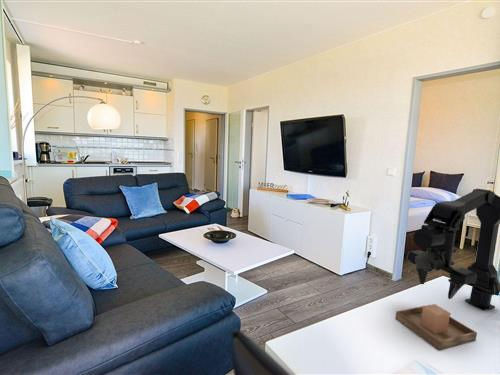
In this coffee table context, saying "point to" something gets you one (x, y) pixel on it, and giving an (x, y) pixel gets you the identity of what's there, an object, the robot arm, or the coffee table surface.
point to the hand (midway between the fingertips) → (435, 291)
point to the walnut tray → (440, 341)
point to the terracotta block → (435, 318)
